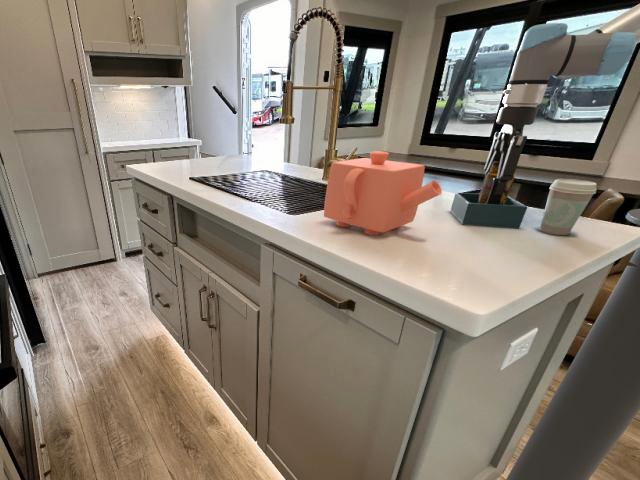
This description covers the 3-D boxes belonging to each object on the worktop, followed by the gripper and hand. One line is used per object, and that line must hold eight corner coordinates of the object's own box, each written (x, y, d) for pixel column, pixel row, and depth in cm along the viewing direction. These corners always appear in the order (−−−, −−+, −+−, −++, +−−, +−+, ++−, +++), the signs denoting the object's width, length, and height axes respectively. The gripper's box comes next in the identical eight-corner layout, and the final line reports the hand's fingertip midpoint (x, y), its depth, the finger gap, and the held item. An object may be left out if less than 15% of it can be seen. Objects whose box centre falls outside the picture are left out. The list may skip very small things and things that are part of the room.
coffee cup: (524, 227, 92) (543, 178, 86) (552, 225, 93) (572, 177, 88) (555, 238, 85) (578, 186, 79) (585, 236, 86) (610, 184, 80)
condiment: (508, 213, 93) (526, 164, 87) (472, 211, 94) (488, 163, 89) (496, 206, 99) (513, 160, 93) (463, 204, 101) (477, 159, 95)
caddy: (500, 215, 102) (507, 195, 100) (519, 228, 91) (527, 206, 88) (449, 211, 105) (455, 192, 103) (461, 224, 94) (468, 203, 91)
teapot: (449, 231, 89) (471, 154, 80) (402, 252, 76) (423, 164, 68) (361, 211, 106) (372, 145, 97) (311, 225, 93) (319, 151, 84)
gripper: (489, 105, 94) (462, 195, 105) (518, 106, 78) (482, 211, 89) (521, 105, 92) (491, 196, 103) (558, 106, 76) (517, 214, 87)
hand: (487, 203), depth 96 cm, fingers closed on condiment, 6 cm apart
